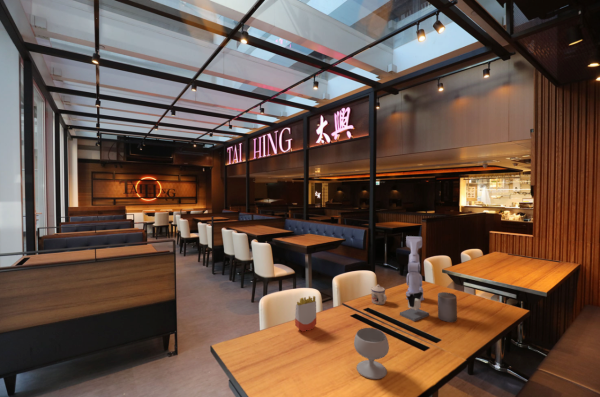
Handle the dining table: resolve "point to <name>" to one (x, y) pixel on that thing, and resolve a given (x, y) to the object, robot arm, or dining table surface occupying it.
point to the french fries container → (305, 314)
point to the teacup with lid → (378, 295)
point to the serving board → (414, 314)
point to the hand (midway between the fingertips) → (414, 305)
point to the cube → (415, 304)
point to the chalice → (371, 352)
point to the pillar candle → (447, 307)
